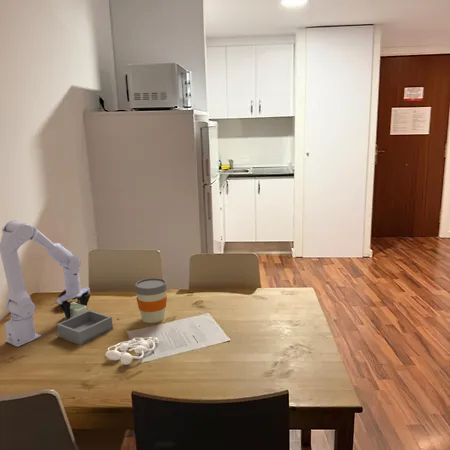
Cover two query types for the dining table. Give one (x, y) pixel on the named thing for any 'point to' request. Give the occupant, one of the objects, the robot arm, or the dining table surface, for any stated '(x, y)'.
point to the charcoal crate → (84, 327)
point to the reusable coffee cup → (151, 299)
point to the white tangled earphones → (127, 357)
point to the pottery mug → (65, 293)
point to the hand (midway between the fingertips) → (76, 314)
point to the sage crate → (77, 309)
